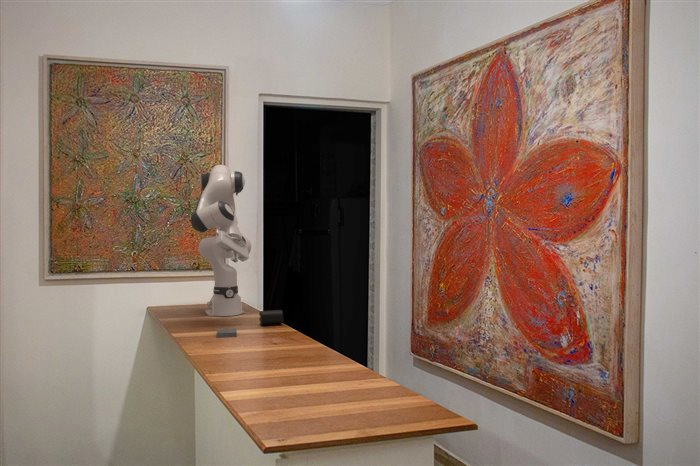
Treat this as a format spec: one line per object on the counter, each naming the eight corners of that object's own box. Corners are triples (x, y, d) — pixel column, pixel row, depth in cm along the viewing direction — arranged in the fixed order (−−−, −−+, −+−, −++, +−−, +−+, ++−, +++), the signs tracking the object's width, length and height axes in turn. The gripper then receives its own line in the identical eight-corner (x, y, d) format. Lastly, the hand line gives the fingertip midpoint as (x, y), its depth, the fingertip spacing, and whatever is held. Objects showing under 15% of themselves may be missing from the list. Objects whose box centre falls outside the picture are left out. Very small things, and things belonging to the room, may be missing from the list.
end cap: (261, 327, 327) (261, 312, 327) (258, 324, 334) (258, 310, 333) (283, 325, 330) (283, 310, 330) (280, 323, 337) (279, 308, 337)
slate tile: (217, 328, 313) (216, 333, 301) (236, 327, 314) (236, 332, 303) (217, 333, 313) (217, 338, 301) (236, 333, 315) (236, 337, 303)
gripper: (221, 223, 326) (225, 248, 318) (248, 242, 342) (253, 266, 334) (210, 230, 328) (214, 255, 320) (238, 248, 344) (242, 272, 336)
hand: (234, 260), depth 327 cm, fingers closed
